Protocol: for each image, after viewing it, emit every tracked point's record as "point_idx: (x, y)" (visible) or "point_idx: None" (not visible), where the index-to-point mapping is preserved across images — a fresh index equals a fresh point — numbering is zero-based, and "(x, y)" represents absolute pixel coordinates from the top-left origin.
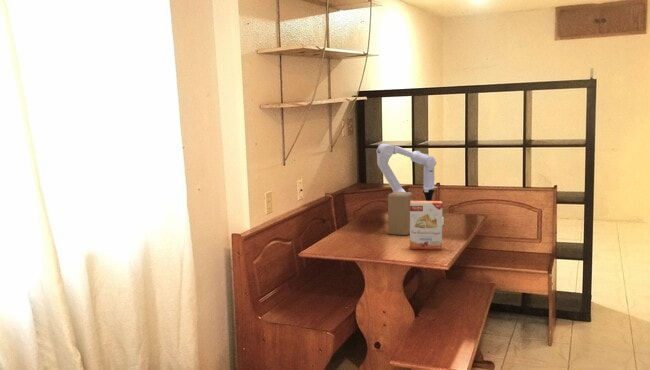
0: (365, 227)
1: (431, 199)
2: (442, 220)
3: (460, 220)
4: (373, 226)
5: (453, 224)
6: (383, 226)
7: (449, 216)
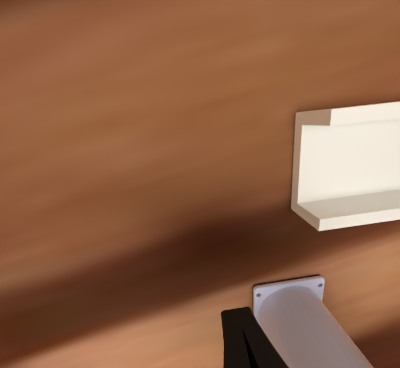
0: (397, 365)
1: (264, 357)
2: (363, 105)
3: (111, 29)
4: (379, 354)
5: (273, 46)
6: (376, 331)
7: (10, 155)
